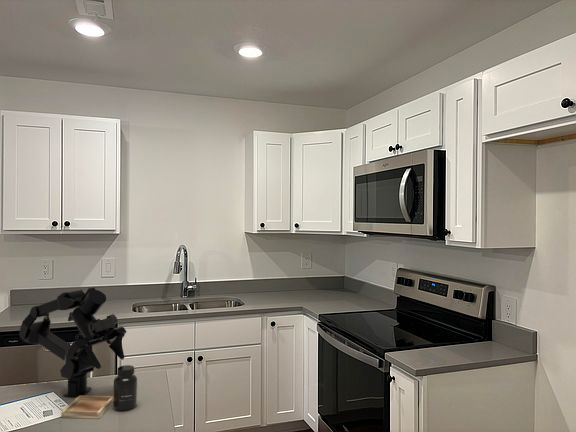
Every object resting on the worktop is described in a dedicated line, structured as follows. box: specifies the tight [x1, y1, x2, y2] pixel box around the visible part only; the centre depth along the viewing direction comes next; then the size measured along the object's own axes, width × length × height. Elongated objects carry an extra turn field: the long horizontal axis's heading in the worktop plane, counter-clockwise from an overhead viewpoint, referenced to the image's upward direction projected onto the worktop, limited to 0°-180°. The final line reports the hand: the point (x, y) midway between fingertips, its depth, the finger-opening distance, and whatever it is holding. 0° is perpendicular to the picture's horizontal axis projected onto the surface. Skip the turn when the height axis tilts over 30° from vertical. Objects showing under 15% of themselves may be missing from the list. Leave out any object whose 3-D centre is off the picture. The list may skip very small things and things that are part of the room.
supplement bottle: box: [112, 364, 138, 412], centre depth 138 cm, size 7×7×12 cm
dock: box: [60, 395, 113, 420], centre depth 136 cm, size 11×11×2 cm
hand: (111, 363), depth 140 cm, fingers open, 9 cm apart
